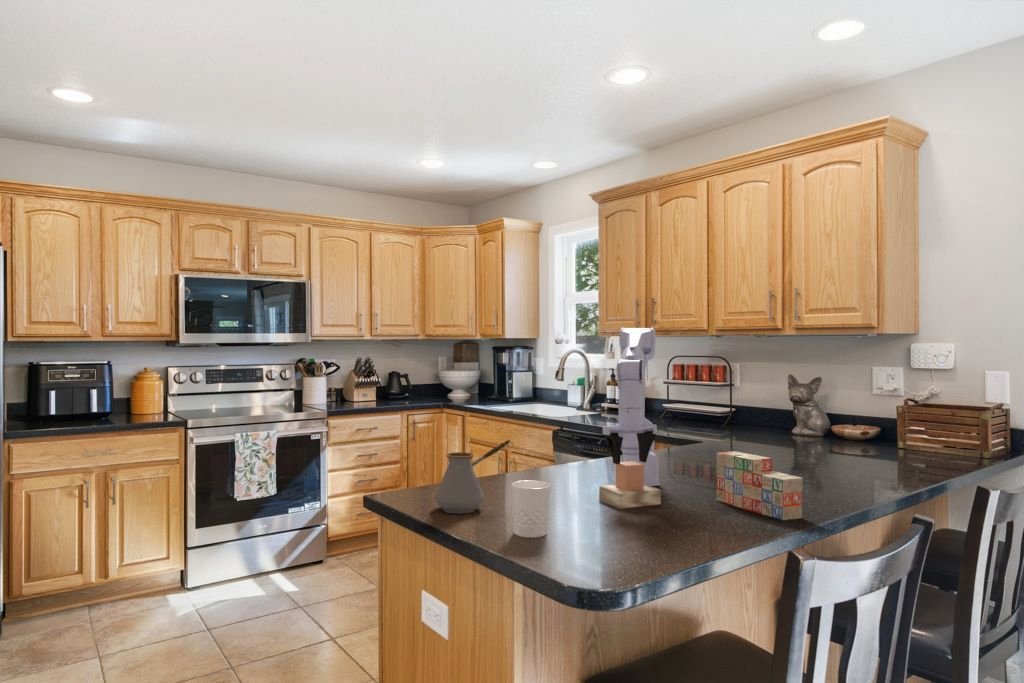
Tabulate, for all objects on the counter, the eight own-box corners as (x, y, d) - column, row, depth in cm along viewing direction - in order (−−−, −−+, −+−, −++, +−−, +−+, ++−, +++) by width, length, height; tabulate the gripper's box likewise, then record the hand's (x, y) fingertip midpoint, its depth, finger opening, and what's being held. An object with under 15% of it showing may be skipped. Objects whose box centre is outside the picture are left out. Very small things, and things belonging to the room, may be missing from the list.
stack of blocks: (803, 518, 145) (803, 464, 145) (782, 521, 142) (782, 466, 142) (734, 498, 164) (735, 450, 164) (715, 500, 162) (715, 451, 162)
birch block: (638, 497, 165) (639, 482, 165) (660, 506, 157) (660, 489, 157) (599, 502, 160) (599, 486, 160) (619, 510, 152) (619, 493, 152)
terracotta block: (633, 485, 162) (633, 461, 162) (643, 489, 157) (643, 464, 157) (615, 486, 160) (615, 462, 160) (625, 490, 155) (625, 465, 155)
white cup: (520, 540, 126) (521, 489, 126) (504, 530, 133) (505, 481, 133) (556, 536, 129) (556, 486, 129) (539, 526, 136) (539, 479, 136)
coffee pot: (452, 518, 142) (453, 450, 142) (425, 508, 150) (425, 444, 151) (525, 504, 155) (526, 442, 155) (496, 495, 164) (497, 437, 164)
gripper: (613, 410, 152) (612, 467, 152) (664, 408, 158) (663, 463, 158) (598, 407, 159) (598, 462, 159) (647, 405, 164) (647, 458, 164)
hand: (629, 462), depth 159 cm, fingers open, 7 cm apart
